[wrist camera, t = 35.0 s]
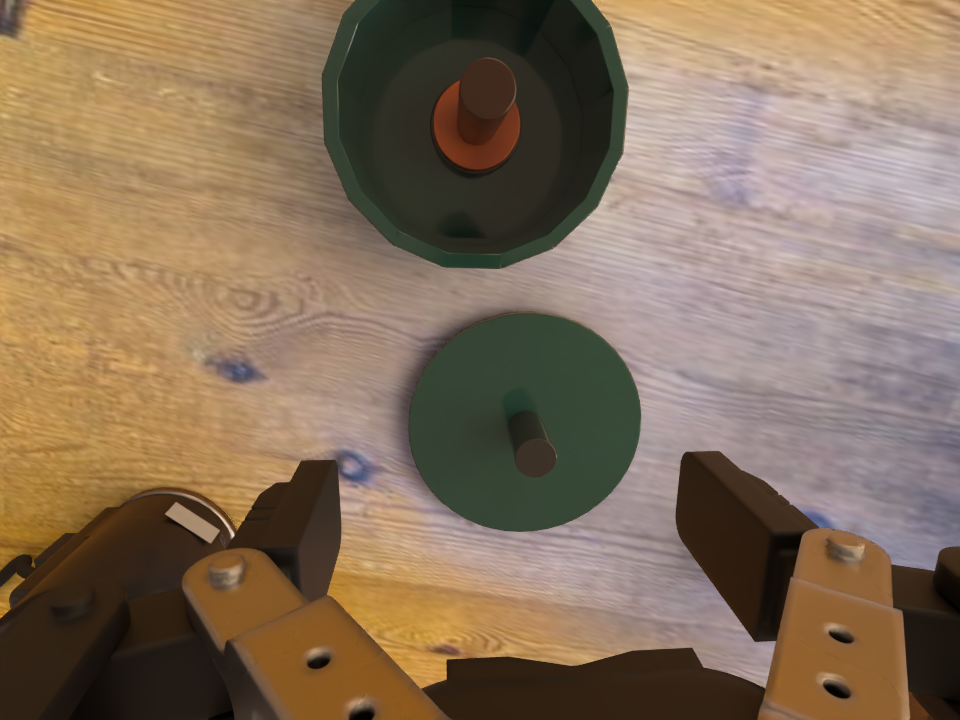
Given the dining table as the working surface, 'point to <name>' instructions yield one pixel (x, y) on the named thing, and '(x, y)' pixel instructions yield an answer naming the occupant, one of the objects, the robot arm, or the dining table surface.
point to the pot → (412, 95)
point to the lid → (524, 421)
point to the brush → (477, 119)
